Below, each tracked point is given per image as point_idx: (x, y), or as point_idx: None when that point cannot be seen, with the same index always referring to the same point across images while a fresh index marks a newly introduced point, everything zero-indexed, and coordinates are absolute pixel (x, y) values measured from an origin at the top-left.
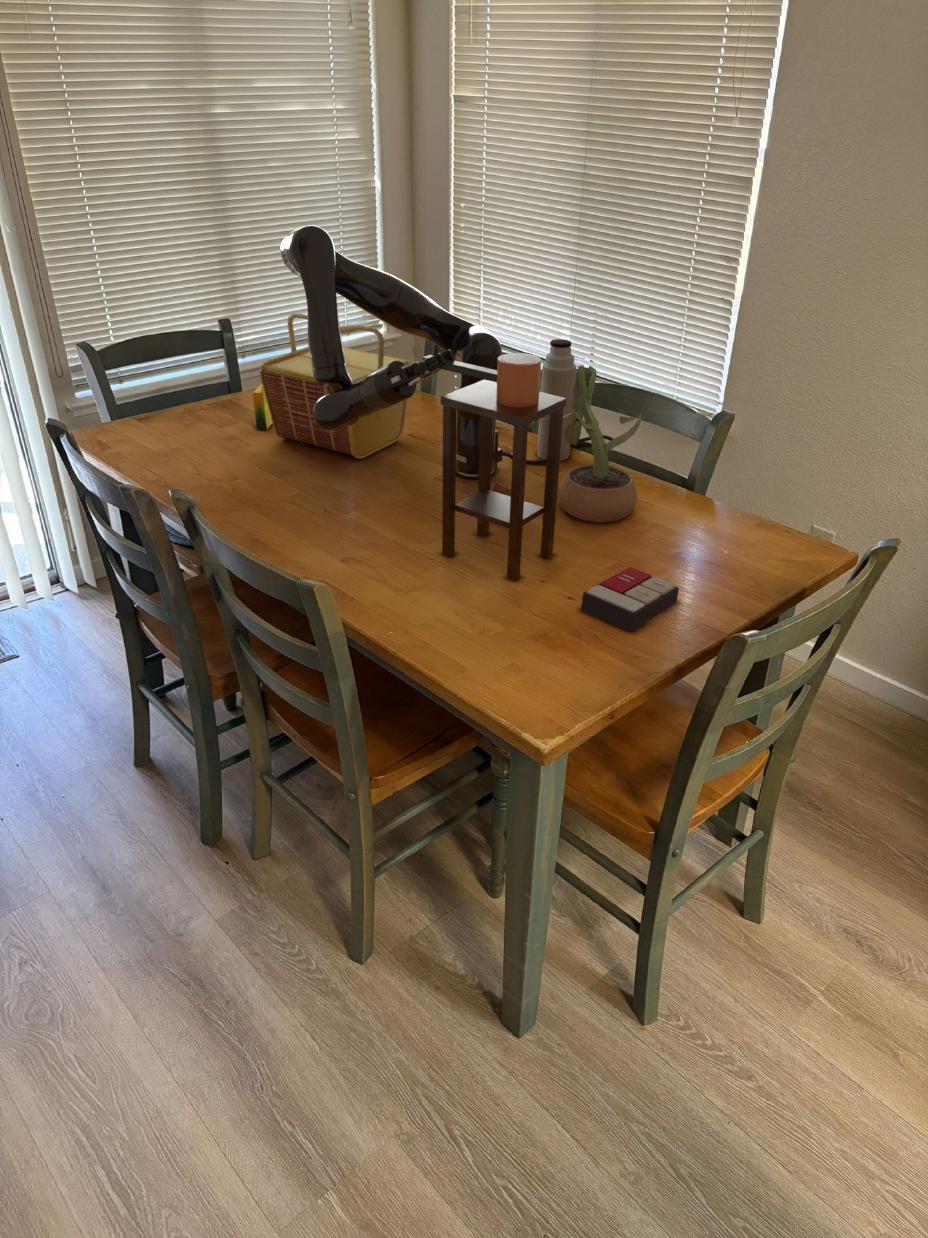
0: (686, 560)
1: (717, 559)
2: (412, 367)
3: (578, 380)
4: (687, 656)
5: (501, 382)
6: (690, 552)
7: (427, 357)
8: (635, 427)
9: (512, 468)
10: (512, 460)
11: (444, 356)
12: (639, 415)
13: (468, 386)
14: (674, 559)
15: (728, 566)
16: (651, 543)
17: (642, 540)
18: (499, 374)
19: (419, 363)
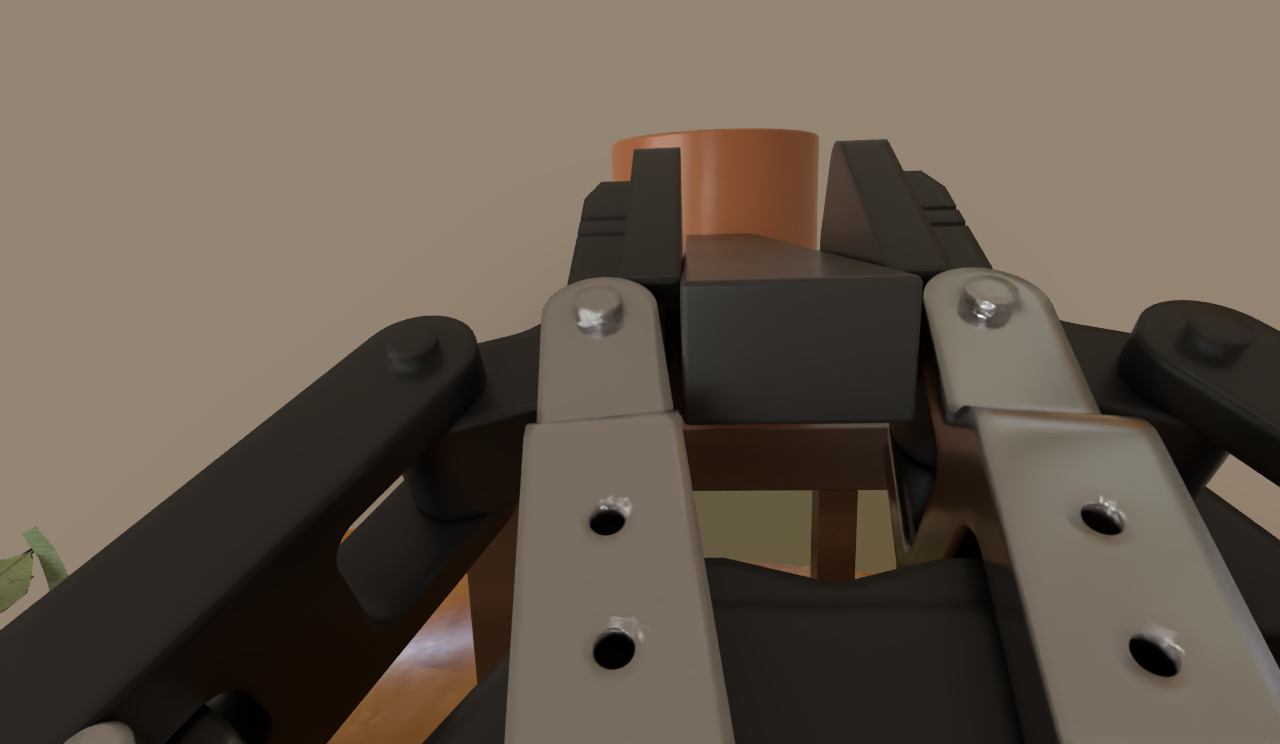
0: (462, 647)
1: (433, 618)
2: (1235, 427)
3: None
4: (793, 566)
5: (816, 236)
6: (418, 653)
7: (852, 272)
8: (67, 573)
9: (856, 525)
10: (857, 497)
11: (681, 239)
12: (41, 534)
13: (692, 427)
14: (467, 661)
15: (457, 602)
16: (396, 715)
17: (384, 735)
18: (812, 202)
19: (1052, 354)
